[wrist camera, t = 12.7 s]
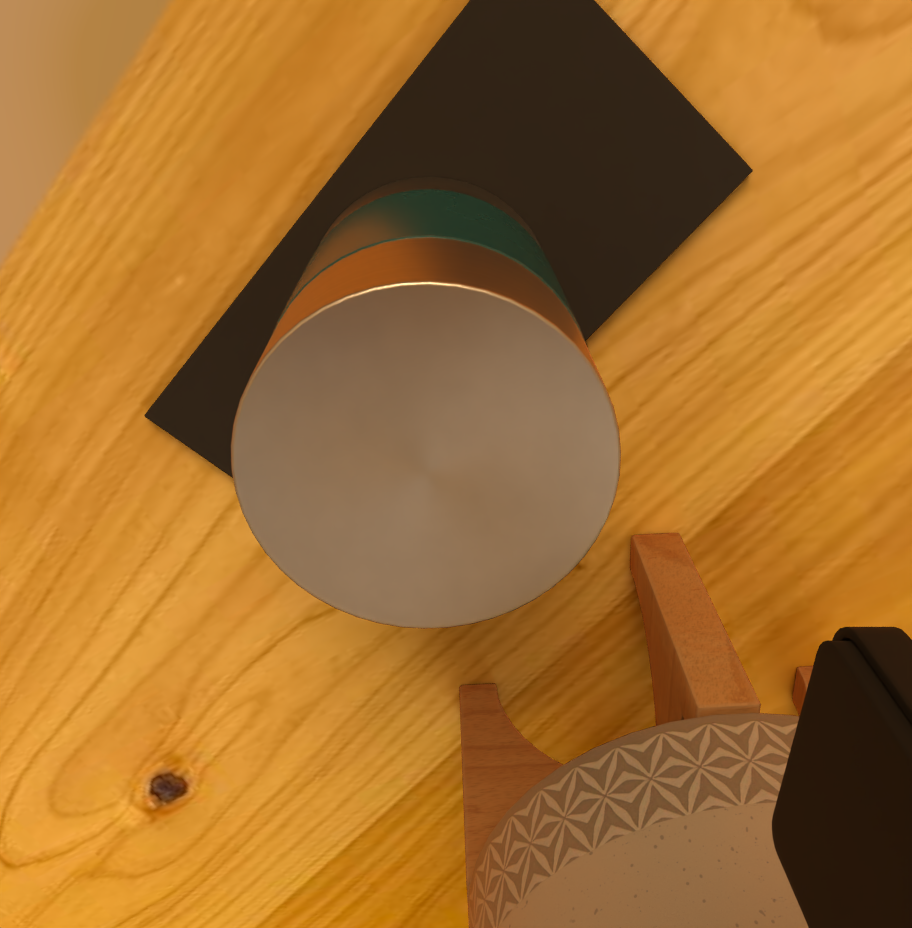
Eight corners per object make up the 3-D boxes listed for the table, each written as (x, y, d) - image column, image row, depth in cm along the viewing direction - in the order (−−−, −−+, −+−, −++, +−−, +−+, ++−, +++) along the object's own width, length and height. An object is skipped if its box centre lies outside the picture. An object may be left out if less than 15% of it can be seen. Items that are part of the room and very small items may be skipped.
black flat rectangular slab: (362, 562, 28) (362, 568, 28) (146, 412, 25) (143, 416, 25) (750, 169, 23) (753, 170, 22) (525, -71, 20) (527, -72, 20)
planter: (860, 522, 27) (1440, 1205, 12) (806, 812, 33) (1142, 1529, 18) (450, 544, 28) (470, 1255, 12) (468, 830, 33) (499, 1561, 18)
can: (300, 171, 22) (208, 274, 13) (562, 178, 22) (647, 284, 13) (312, 412, 25) (245, 629, 16) (543, 417, 25) (601, 632, 16)
